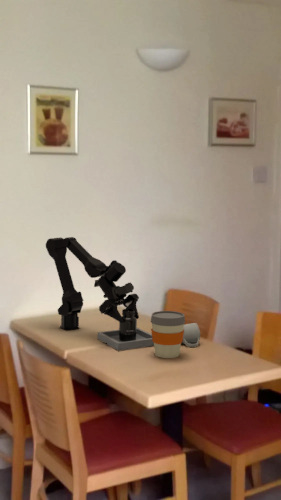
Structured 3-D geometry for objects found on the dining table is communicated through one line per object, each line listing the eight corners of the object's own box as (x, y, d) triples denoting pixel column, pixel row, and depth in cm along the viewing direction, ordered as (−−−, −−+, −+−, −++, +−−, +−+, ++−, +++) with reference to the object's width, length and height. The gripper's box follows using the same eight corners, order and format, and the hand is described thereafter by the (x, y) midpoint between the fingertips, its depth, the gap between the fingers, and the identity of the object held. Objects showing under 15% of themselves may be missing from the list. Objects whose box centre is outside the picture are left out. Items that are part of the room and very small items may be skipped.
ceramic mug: (173, 341, 253) (174, 322, 252) (192, 339, 256) (193, 320, 255) (184, 348, 243) (185, 329, 242) (204, 347, 246) (204, 327, 245)
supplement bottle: (129, 343, 246) (129, 312, 244) (115, 340, 250) (115, 310, 248) (139, 339, 251) (140, 309, 250) (126, 336, 255) (126, 307, 254)
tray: (118, 350, 239) (118, 343, 238) (97, 339, 254) (97, 332, 254) (159, 344, 247) (159, 337, 247) (136, 334, 263) (136, 327, 263)
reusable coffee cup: (154, 360, 228) (155, 319, 226) (146, 350, 240) (147, 311, 238) (188, 358, 230) (189, 318, 228) (179, 348, 242) (180, 310, 240)
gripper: (104, 279, 243) (126, 312, 237) (135, 273, 257) (157, 304, 252) (89, 297, 249) (110, 329, 243) (120, 290, 263) (141, 320, 258)
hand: (130, 320), depth 249 cm, fingers open, 9 cm apart
